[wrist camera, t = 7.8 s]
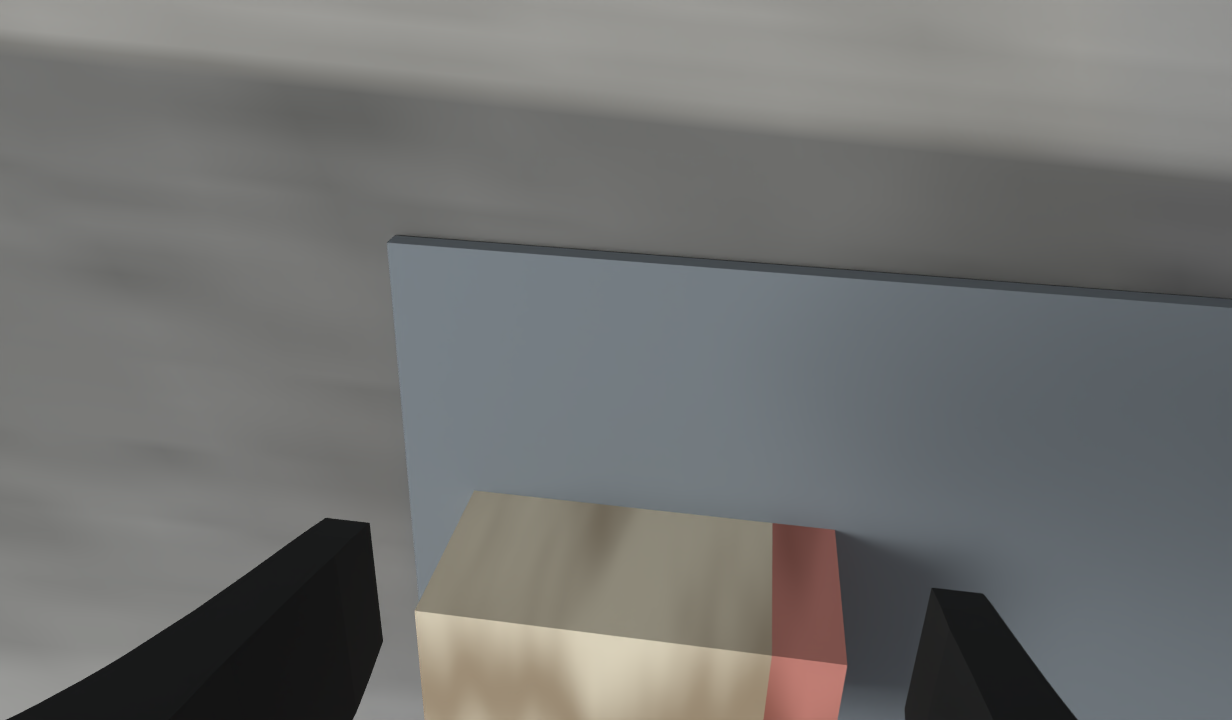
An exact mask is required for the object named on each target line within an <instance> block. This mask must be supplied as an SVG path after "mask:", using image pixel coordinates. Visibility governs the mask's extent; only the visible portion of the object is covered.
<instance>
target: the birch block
mask: <svg viewBox="0 0 1232 720" xmlns="http://www.w3.org/2000/svg"><path fill="white" fill-rule="evenodd" d="M415 620H416V630H417V641H418V652H419V663H420V674H421V685H422V696H423V706H424V717H425V720H838V714H839V709H840V703H841V698H842V692H843V686H844V681H845V675H846V670H847V656H846V645H845V634H844V623H843V612H842V601H841V590H840V580H839V569H838V558H837V547H836V536H835V530H832V529H823V528H813V527H804V526H795V525H786V524H777V523H768V522H758V521H749V520H740V519H731V518H722V517H713V516H703V515H694V514H685V513H676V512H667V511H658V510H648V509H639V508H630V507H621V506H612V505H603V504H593V503H584V502H575V501H566V500H557V499H547V498H538V497H529V496H520V495H511V494H502V493H492V492H483V491H474V492H473V494H472V496H471V498H470V500H469V502H468V504H467V506H466V508H465V510H464V512H463V514H462V516H461V518H460V520H459V522H458V524H457V526H456V528H455V530H454V532H453V534H452V536H451V538H450V540H449V542H448V545H447V547H446V549H445V551H444V553H443V555H442V557H441V559H440V561H439V563H438V565H437V567H436V569H435V571H434V573H433V575H432V577H431V579H430V581H429V583H428V585H427V587H426V589H425V591H424V593H423V595H422V597H421V599H420V601H419V603H418V605H417V607H416V609H415Z"/></svg>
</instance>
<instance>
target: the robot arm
mask: <svg viewBox="0 0 1232 720" xmlns="http://www.w3.org/2000/svg"><path fill="white" fill-rule="evenodd" d="M382 642H383V637H382V628H381V620H380V611H379V602H378V593H377V584H376V576H375V567H374V558H373V549H372V541H371V532H370V523H365V522H357V521H348V520H339V519H331V518H325V519H323V520H322V521H320V522H319V523H317V524H316V525H314V526H313V527H311V528H310V529H309V530H307V531H306V532H304V533H303V534H301V535H300V536H299V537H297V538H296V539H294V540H293V541H292V542H290V543H289V544H287V545H286V546H285V547H283V548H282V549H281V550H279V551H278V552H276V553H275V554H274V555H272V556H271V557H269V558H268V559H267V560H265V561H264V562H263V563H261V564H260V565H258V566H257V567H256V568H254V569H253V570H251V571H250V572H249V573H247V574H246V575H244V576H243V577H241V578H240V579H239V580H237V581H236V582H234V583H233V584H231V585H230V586H229V587H227V588H226V589H224V590H223V591H221V592H220V593H219V594H217V595H216V596H214V597H213V598H212V599H210V600H209V601H207V602H206V603H204V604H203V605H202V606H200V607H199V608H197V609H196V610H194V611H193V612H191V613H190V614H188V615H186V616H185V617H183V618H182V619H180V620H179V621H177V622H176V623H174V624H172V625H171V626H169V627H168V628H166V629H165V630H163V631H161V632H160V633H158V634H157V635H155V636H154V637H152V638H151V639H149V640H147V641H146V642H144V643H143V644H141V645H140V646H138V647H137V648H135V649H133V650H132V651H130V652H129V653H127V654H126V655H124V656H122V657H121V658H119V659H117V660H116V661H114V662H112V663H111V664H109V665H107V666H106V667H104V668H102V669H101V670H99V671H97V672H95V673H94V674H92V675H90V676H88V677H87V678H85V679H83V680H81V681H80V682H78V683H76V684H74V685H72V686H70V687H68V688H67V689H65V690H63V691H61V692H59V693H57V694H55V695H54V696H52V697H50V698H48V699H46V700H44V701H42V702H41V703H39V704H37V705H35V706H33V707H31V708H29V709H27V710H25V711H23V712H21V713H19V714H17V715H15V716H13V717H11V718H9V719H7V720H353V718H354V716H355V714H356V712H357V709H358V707H359V704H360V702H361V699H362V696H363V694H364V691H365V689H366V686H367V684H368V681H369V678H370V676H371V673H372V670H373V667H374V665H375V662H376V659H377V656H378V654H379V651H380V648H381V645H382ZM904 711H905V720H1078V719H1077V718H1076V717H1075V715H1074V714H1073V713H1072V712H1071V710H1070V709H1069V708H1068V707H1067V705H1066V704H1065V703H1064V702H1063V700H1062V699H1061V698H1060V696H1059V695H1058V694H1057V693H1056V691H1055V690H1054V689H1053V687H1052V686H1051V685H1050V683H1049V682H1048V681H1047V679H1046V678H1045V677H1044V675H1043V674H1042V673H1041V671H1040V670H1039V669H1038V667H1037V666H1036V665H1035V663H1034V662H1033V661H1032V659H1031V658H1030V656H1029V655H1028V654H1027V652H1026V651H1025V650H1024V648H1023V647H1022V645H1021V644H1020V643H1019V641H1018V640H1017V639H1016V637H1015V636H1014V634H1013V633H1012V632H1011V630H1010V629H1009V627H1008V626H1007V625H1006V623H1005V622H1004V620H1003V619H1002V618H1001V616H1000V615H999V613H998V612H997V611H996V609H995V608H994V607H993V605H992V604H991V602H990V601H989V600H988V599H987V597H986V596H985V595H984V594H983V593H975V592H966V591H957V590H949V589H940V588H931V593H930V597H929V601H928V606H927V610H926V615H925V619H924V624H923V628H922V633H921V637H920V642H919V646H918V651H917V655H916V659H915V664H914V668H913V673H912V677H911V682H910V686H909V691H908V695H907V700H906V704H905V709H904Z"/></svg>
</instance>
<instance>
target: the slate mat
mask: <svg viewBox="0 0 1232 720" xmlns="http://www.w3.org/2000/svg"><path fill="white" fill-rule="evenodd" d="M387 249H388V260H389V271H390V282H391V293H392V305H393V316H394V327H395V338H396V350H397V361H398V372H399V383H400V395H401V406H402V417H403V428H404V440H405V451H406V462H407V473H408V484H409V496H410V507H411V518H412V529H413V541H414V552H415V563H416V574H417V586H418V597H419V601H420V599H421V597H422V595H423V593H424V591H425V589H426V587H427V585H428V583H429V581H430V579H431V577H432V575H433V573H434V571H435V569H436V567H437V565H438V563H439V561H440V559H441V557H442V555H443V553H444V551H445V549H446V547H447V545H448V542H449V540H450V538H451V536H452V534H453V532H454V530H455V528H456V526H457V524H458V522H459V520H460V518H461V516H462V514H463V512H464V510H465V508H466V506H467V504H468V502H469V500H470V498H471V496H472V494H473V492H474V491H483V492H492V493H502V494H511V495H520V496H529V497H538V498H547V499H557V500H566V501H575V502H584V503H593V504H603V505H612V506H621V507H630V508H639V509H648V510H658V511H667V512H676V513H685V514H694V515H703V516H713V517H722V518H731V519H740V520H749V521H758V522H768V523H777V524H786V525H795V526H804V527H813V528H823V529H832V530H835V536H836V547H837V558H838V569H839V580H840V590H841V601H842V612H843V623H844V634H845V645H846V656H847V670H846V675H845V681H844V686H843V692H842V698H841V703H840V709H839V714H838V720H905V711H904V709H905V704H906V700H907V695H908V691H909V686H910V682H911V677H912V673H913V668H914V664H915V659H916V655H917V651H918V646H919V642H920V637H921V633H922V628H923V624H924V619H925V615H926V610H927V606H928V601H929V597H930V593H931V588H940V589H949V590H957V591H966V592H975V593H983V594H984V595H985V596H986V597H987V599H988V600H989V601H990V602H991V604H992V605H993V607H994V608H995V609H996V611H997V612H998V613H999V615H1000V616H1001V618H1002V619H1003V620H1004V622H1005V623H1006V625H1007V626H1008V627H1009V629H1010V630H1011V632H1012V633H1013V634H1014V636H1015V637H1016V639H1017V640H1018V641H1019V643H1020V644H1021V645H1022V647H1023V648H1024V650H1025V651H1026V652H1027V654H1028V655H1029V656H1030V658H1031V659H1032V661H1033V662H1034V663H1035V665H1036V666H1037V667H1038V669H1039V670H1040V671H1041V673H1042V674H1043V675H1044V677H1045V678H1046V679H1047V681H1048V682H1049V683H1050V685H1051V686H1052V687H1053V689H1054V690H1055V691H1056V693H1057V694H1058V695H1059V696H1060V698H1061V699H1062V700H1063V702H1064V703H1065V704H1066V705H1067V707H1068V708H1069V709H1070V710H1071V712H1072V713H1073V714H1074V715H1075V717H1076V718H1077V719H1078V720H1232V299H1222V298H1209V297H1196V296H1182V295H1169V294H1156V293H1143V292H1130V291H1117V290H1104V289H1091V288H1078V287H1065V286H1051V285H1038V284H1025V283H1012V282H999V281H986V280H973V279H960V278H947V277H933V276H920V275H907V274H894V273H881V272H868V271H855V270H842V269H829V268H816V267H802V266H789V265H776V264H763V263H750V262H737V261H724V260H711V259H698V258H685V257H671V256H658V255H645V254H632V253H619V252H606V251H593V250H580V249H567V248H554V247H540V246H527V245H514V244H501V243H488V242H475V241H462V240H449V239H436V238H423V237H409V236H396V235H395V236H394V237H393V238H392V239H390V240H389V241H388V242H387Z"/></svg>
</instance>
